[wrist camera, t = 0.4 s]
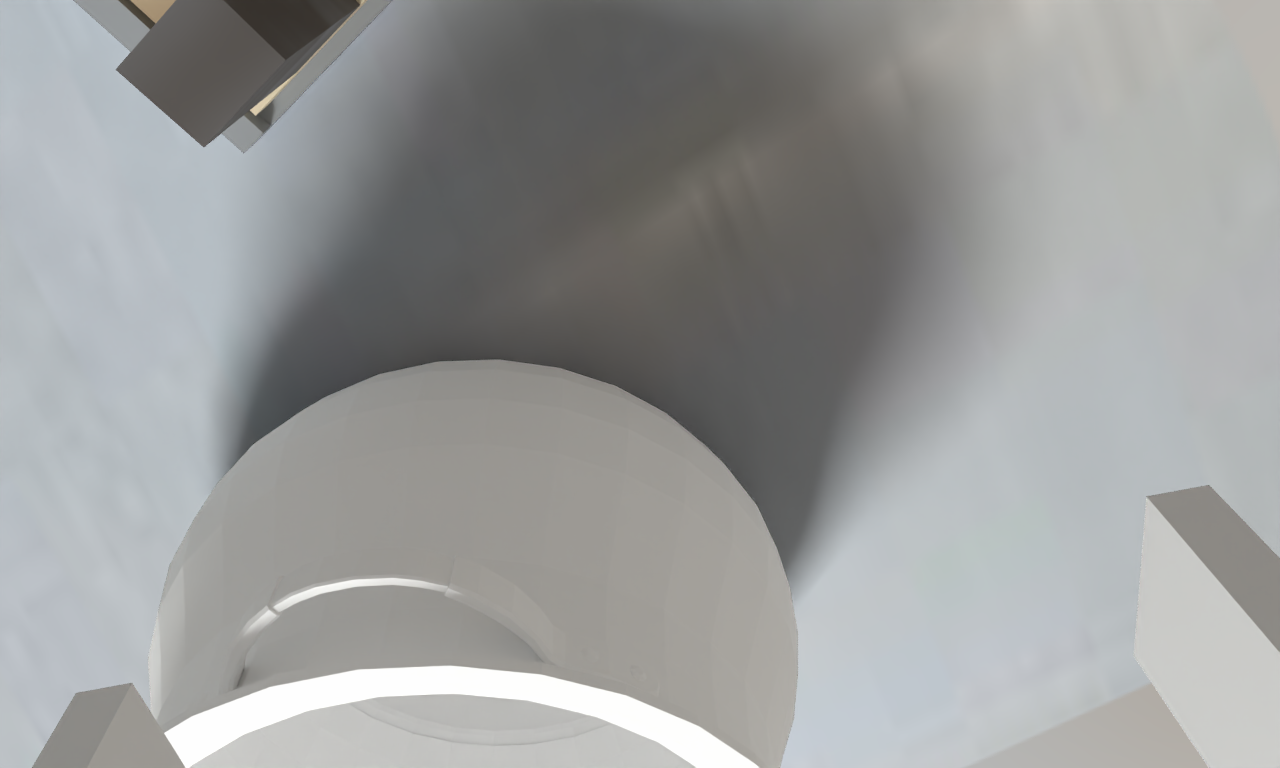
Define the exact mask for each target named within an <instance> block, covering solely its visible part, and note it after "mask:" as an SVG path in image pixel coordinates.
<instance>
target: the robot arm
mask: <svg viewBox="0 0 1280 768" xmlns="http://www.w3.org/2000/svg"><path fill="white" fill-rule="evenodd" d="M1134 657H1135V659H1136V660H1137V662H1138V663H1139V665H1140V666H1141V668H1142V669H1143V671H1144V672H1145V674H1146V675H1147V677H1148V678H1149V680H1150V681H1151V683H1152V684H1153V685H1154V687H1155V688H1156V690H1157V692H1158V693H1159V694H1160V696H1161V697H1162V699H1163V700H1164V702H1165V703H1166V705H1167V706H1168V708H1169V709H1170V711H1171V712H1172V714H1173V715H1174V717H1175V718H1176V720H1177V721H1178V723H1179V724H1180V725H1181V727H1182V729H1183V730H1184V731H1185V733H1186V735H1187V736H1188V738H1189V739H1190V741H1191V742H1192V744H1193V745H1194V747H1195V748H1196V749H1197V751H1198V753H1199V754H1200V755H1201V757H1202V758H1203V760H1204V761H1205V763H1206V764H1207V766H1208V767H1209V768H1280V558H1279V557H1278V556H1277V555H1276V554H1275V553H1274V552H1273V551H1272V550H1271V549H1270V548H1269V547H1268V546H1267V545H1266V544H1265V543H1264V541H1263V540H1262V539H1261V538H1260V537H1259V536H1258V535H1257V534H1256V533H1255V532H1254V531H1253V530H1252V529H1251V528H1250V527H1249V526H1248V525H1247V524H1246V523H1245V522H1244V521H1243V520H1242V519H1241V518H1240V517H1239V516H1238V515H1237V513H1236V512H1235V511H1234V510H1233V509H1232V508H1231V507H1230V506H1229V505H1228V504H1227V503H1226V502H1225V501H1224V500H1223V499H1222V498H1221V497H1220V496H1219V495H1218V494H1217V493H1216V492H1215V491H1214V490H1213V489H1212V488H1211V487H1210V486H1209V485H1206V486H1201V487H1196V488H1190V489H1185V490H1179V491H1174V492H1168V493H1163V494H1157V495H1152V496H1147V497H1146V509H1145V521H1144V534H1143V546H1142V559H1141V571H1140V583H1139V596H1138V608H1137V621H1136V633H1135V645H1134ZM32 768H186V767H185V766H184V764H183V763H182V761H181V759H180V758H179V756H178V755H177V753H176V751H175V750H174V748H173V747H172V745H171V744H170V742H169V740H168V739H167V737H166V736H165V734H164V732H163V731H162V729H161V728H160V726H159V725H158V723H157V721H156V720H155V718H154V717H153V715H152V714H151V712H150V710H149V709H148V707H147V706H146V704H145V702H144V701H143V699H142V698H141V696H140V695H139V693H138V691H137V690H136V688H135V687H134V685H133V683H128V684H123V685H117V686H112V687H107V688H101V689H96V690H90V691H85V692H79V693H76V694H75V696H74V697H73V699H72V701H71V702H70V704H69V706H68V708H67V709H66V711H65V713H64V714H63V716H62V718H61V719H60V721H59V723H58V725H57V726H56V728H55V730H54V731H53V733H52V735H51V736H50V738H49V740H48V741H47V743H46V745H45V747H44V748H43V750H42V752H41V753H40V755H39V757H38V758H37V760H36V762H35V764H34V765H33V767H32Z"/></svg>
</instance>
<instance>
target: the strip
mask: <svg viewBox="0 0 1280 768" xmlns="http://www.w3.org/2000/svg"><path fill="white" fill-rule="evenodd" d="M131 1H132V2H133V3H134V4H135V5H136V6H137V7H138V8H139V9H140V10H141V11H143V12H144V13H145V14H146V15H147V16H148V17H149V18H150V19H151V20H152V21H153V22H155V23H156V24H155V25H154V26H153V27H152V28H151V30H150V31H149V32H148V33H147V34H146V35H145V36H144V38H143V39H142V40H141V41H140V42H139V43H138V45H137V46H136V47H135V48H134V49H133V50H132V51H131V53H130V54H129V55H128V56H127V57H126V58H125V59H124V61H123V62H122V63H121V64H120V65H119V66H118V68H117V69H116V70H117V71H118V72H119V73H120V74H121V75H122V76H123V77H125V78H126V79H127V80H128V81H129V82H130V83H131V84H133V85H134V86H135V87H136V88H137V89H138V90H139V91H140V92H142V93H143V94H144V95H145V96H146V97H147V98H148V99H150V100H151V101H152V102H153V103H154V104H155V105H156V106H157V107H159V108H160V109H161V110H162V111H163V112H164V113H165V114H166V115H168V116H169V117H170V118H171V119H172V120H173V121H174V122H176V123H177V124H178V125H179V126H180V127H181V128H182V129H183V130H185V131H186V132H187V133H188V134H189V135H190V136H191V137H193V138H194V139H195V140H196V141H197V142H198V143H199V144H200V145H202V146H203V147H205V146H206V145H207V144H209V143H210V142H211V141H212V140H214V139H215V138H216V137H217V136H219V135H220V134H221V133H222V132H224V131H225V130H226V129H227V128H228V127H230V126H231V125H232V124H233V123H235V122H236V121H237V120H238V119H240V118H241V117H242V116H243V115H245V114H246V113H247V112H248V111H249V110H250V111H251V112H252V113H253V114H254V115H255V116H256V115H257V114H258V113H259V112H260V111H262V110H263V109H264V108H265V107H266V106H268V105H269V104H270V103H271V102H272V100H273V99H274V98H275V97H276V96H277V95H278V94H279V93H280V92H281V91H282V90H283V89H284V88H285V87H286V86H287V85H288V84H289V83H290V81H291V80H292V79H293V78H294V77H295V76H296V75H297V74H298V73H299V72H300V71H301V70H302V69H303V68H304V67H305V66H306V65H307V64H308V63H309V61H310V60H311V59H312V58H313V57H314V56H315V55H316V54H317V53H318V52H319V51H320V50H321V49H322V48H323V47H324V46H325V45H326V44H327V42H328V41H329V40H330V39H331V38H332V37H333V36H334V35H335V34H336V33H337V32H338V31H339V30H340V29H341V28H342V27H343V26H344V25H345V24H346V22H347V21H348V20H349V19H350V18H351V17H352V16H353V15H354V14H355V13H356V12H357V11H358V10H359V9H360V8H361V7H362V6H363V5H364V3H365V2H366V1H367V0H131Z"/></svg>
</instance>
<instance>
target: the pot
mask: <svg viewBox="0 0 1280 768" xmlns="http://www.w3.org/2000/svg"><path fill="white" fill-rule="evenodd" d="M148 666H149V683H150V699H151V714H152V715H153V717H154V718H155V720H156V721H157V723H158V725H159V726H160V728H161V729H162V731H163V732H164V734H165V736H166V737H167V739H168V740H169V742H170V744H171V745H172V747H173V748H174V750H175V751H176V753H177V755H178V756H179V758H180V759H181V761H182V763H183V764H184V766H185V767H186V768H780V766H781V762H782V758H783V754H784V751H785V748H786V744H787V741H788V737H789V734H790V730H791V727H792V723H793V720H794V711H795V700H796V689H797V678H798V631H797V625H796V619H795V614H794V608H793V603H792V597H791V591H790V586H789V583H788V580H787V577H786V574H785V571H784V568H783V565H782V562H781V559H780V556H779V553H778V550H777V548H776V545H775V543H774V541H773V539H772V537H771V535H770V532H769V530H768V528H767V526H766V524H765V522H764V519H763V517H762V515H761V513H760V511H759V509H758V506H757V505H756V504H755V502H754V501H753V500H752V499H751V497H750V496H749V495H748V493H747V492H746V491H745V490H744V488H743V487H742V486H741V485H740V483H739V482H738V481H737V480H736V478H735V477H734V476H733V474H732V473H731V472H730V471H729V469H728V468H727V467H726V466H725V464H724V463H723V462H722V461H721V460H720V459H719V458H718V457H717V456H716V455H715V454H714V453H713V452H712V451H711V450H710V449H709V448H708V447H707V446H706V445H704V444H703V443H702V442H701V441H699V440H698V439H697V438H696V437H695V436H693V435H692V434H691V433H690V432H689V431H687V430H686V429H685V428H684V427H682V426H681V425H680V424H679V423H678V422H676V421H675V420H674V419H673V418H672V417H670V416H669V415H668V414H667V413H665V412H664V411H662V410H660V409H658V408H656V407H654V406H652V405H650V404H649V403H647V402H645V401H643V400H641V399H639V398H637V397H636V396H634V395H632V394H630V393H628V392H626V391H624V390H623V389H621V388H619V387H617V386H615V385H611V384H608V383H605V382H602V381H599V380H596V379H593V378H590V377H587V376H584V375H580V374H577V373H574V372H571V371H568V370H565V369H562V368H558V367H550V366H543V365H536V364H529V363H521V362H514V361H507V360H500V359H496V360H467V361H438V362H433V363H428V364H424V365H419V366H414V367H410V368H405V369H400V370H396V371H391V372H386V373H382V374H378V375H376V376H373V377H371V378H368V379H366V380H364V381H361V382H359V383H357V384H354V385H352V386H349V387H347V388H345V389H342V390H340V391H338V392H335V393H333V394H330V395H328V396H326V397H324V398H322V399H321V400H319V401H317V402H316V403H314V404H312V405H310V406H309V407H307V408H305V409H304V410H302V411H301V412H299V413H298V414H296V415H295V416H293V417H292V418H290V419H289V420H288V421H286V422H285V423H283V424H282V425H280V426H279V427H277V428H276V429H274V430H273V431H272V432H270V433H269V434H267V435H266V436H264V437H263V438H261V439H260V440H258V441H257V442H256V443H254V444H253V445H252V446H251V447H250V448H249V449H248V451H247V452H246V453H245V454H244V455H243V456H242V457H241V458H240V459H239V460H238V461H237V463H236V464H235V465H234V466H233V467H232V468H231V469H230V470H229V471H228V472H227V473H226V475H225V476H224V477H223V478H222V479H221V480H220V481H219V482H218V483H217V485H216V486H215V488H214V489H213V491H212V492H211V494H210V495H209V497H208V498H207V500H206V501H205V503H204V505H203V506H202V508H201V509H200V511H199V512H198V514H197V515H196V517H195V518H194V520H193V522H192V524H191V526H190V528H189V529H188V531H187V533H186V535H185V537H184V539H183V541H182V543H181V545H180V546H179V548H178V550H177V552H176V554H175V556H174V558H173V560H172V561H171V563H170V565H169V569H168V573H167V577H166V581H165V585H164V589H163V593H162V597H161V601H160V605H159V609H158V614H157V618H156V623H155V628H154V632H153V637H152V642H151V646H150V651H149V656H148Z"/></svg>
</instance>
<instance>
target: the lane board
mask: <svg viewBox="0 0 1280 768" xmlns="http://www.w3.org/2000/svg"><path fill="white" fill-rule="evenodd" d="M73 1H75V2H76V3H77V4H78V5H79V6H80V7H81V8H82V9H83V10H85V11H86V12H87V13H88V14H89V15H90V16H91V17H92V18H93V19H95V20H96V21H97V22H98V23H99V24H100V25H101V26H102V27H103V28H105V29H106V30H107V31H108V32H109V33H110V34H111V35H112V36H114V37H115V38H116V39H117V40H118V41H119V42H120V43H121V44H122V45H124V46H125V47H126V48H127V49H128V50H129V51H130V52H131V51H132V50H133V49H134V48H135V47H136V46H137V45H138V43H139V42H140V41H141V40H142V39H143V38H144V36H145V35H146V34H147V33H148V32H149V31H150V30H151V28H152V27H153V26H154V25H155V24H156V23H155V22H153V21H152V20H151V19H150V18H149V17H148V16H147V15H146V14H145V13H144V12H143V11H141V10H140V9H139V8H138V7H137V6H136V5H135V4H134V3H133V2H132V1H131V0H73ZM391 1H392V0H367V1H366V2H365V3H364V5H363V6H362V7H361V8H360V9H359V10H358V11H357V12H356V13H355V14H354V15H353V16H352V17H351V18H350V19H349V20H348V21H347V22H346V24H345V25H344V26H343V27H342V28H341V29H340V30H339V31H338V32H337V33H336V34H335V35H334V36H333V37H332V38H331V39H330V40H329V41H328V42H327V44H326V45H325V46H324V47H323V48H322V49H321V50H320V51H319V52H318V53H317V54H316V55H315V56H314V57H313V58H312V59H311V60H310V61H309V63H308V64H307V65H306V66H305V67H304V68H303V69H302V70H301V71H300V72H299V73H298V74H297V75H296V76H295V77H294V78H293V79H292V80H291V81H290V83H289V84H288V85H287V86H286V87H285V88H284V89H283V90H282V91H281V92H280V93H279V94H278V95H277V96H276V97H275V98H274V99H273V100H272V102H271V103H270V104H269V105H268V106H266V107H265V108H264V109H263V110H262V111H260V112H259V113H258V114H257V115H256V116H255V115H254V114H253V113H252V112H251V111H250V110H249V111H248V112H247V113H246V114H245V115H243V116H242V117H241V118H240V119H238V120H237V121H236V122H235V123H233V124H232V125H231V126H230V127H228V128H227V129H226V130H225V131H224V132H222V134H223V135H224V136H225V137H226V138H227V139H228V140H229V141H231V142H232V143H233V144H234V145H235V146H236V147H237V148H238V149H239V150H241V151H242V152H243V153H245V152H246V151H247V150H248V149H249V148H250V147H251V146H253V145H254V144H255V143H256V142H257V141H258V140H259V139H260V138H261V137H262V136H263V135H264V134H265V133H266V131H267V130H268V129H269V128H270V127H271V126H272V125H273V124H274V123H275V122H276V121H277V120H278V119H279V118H280V117H281V116H282V115H283V114H284V113H285V112H286V111H287V110H288V109H289V107H290V106H291V105H292V104H293V103H294V102H295V101H296V100H297V99H298V98H299V97H300V96H301V95H302V94H303V93H304V92H305V91H306V90H307V89H308V88H309V87H310V86H311V85H312V84H313V82H314V81H315V80H316V79H317V78H318V77H319V76H320V75H321V74H322V73H323V72H324V71H325V70H326V69H327V68H328V67H329V66H330V65H331V64H332V63H333V62H334V61H335V60H336V58H337V57H338V56H339V55H340V54H341V53H342V52H343V51H344V50H345V49H346V48H347V47H348V46H349V45H350V44H351V43H352V42H353V41H354V40H355V39H356V38H357V37H358V36H359V34H360V33H361V32H362V31H363V30H364V29H365V28H366V27H367V26H368V25H369V24H370V23H371V22H372V21H373V20H374V19H375V18H376V17H377V16H378V15H379V14H380V13H381V12H382V11H383V9H384V8H385V7H386V6H387V5H388V4H389V3H390V2H391Z"/></svg>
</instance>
